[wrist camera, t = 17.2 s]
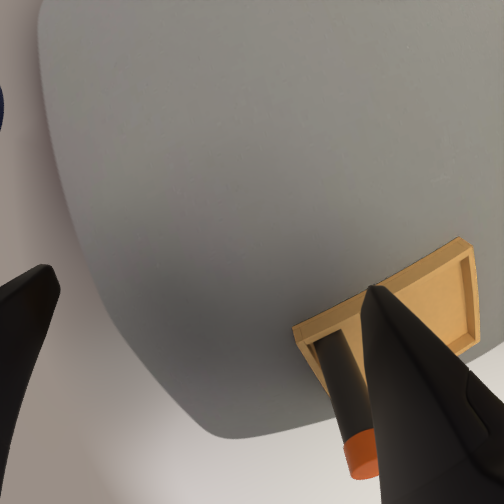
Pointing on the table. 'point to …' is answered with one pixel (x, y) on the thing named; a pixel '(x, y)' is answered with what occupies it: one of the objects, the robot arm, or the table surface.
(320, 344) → the cylinder
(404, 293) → the tray
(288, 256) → the table surface
